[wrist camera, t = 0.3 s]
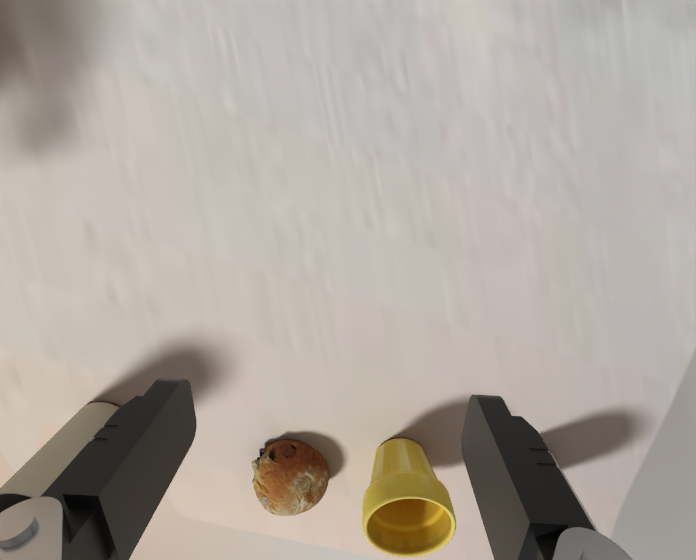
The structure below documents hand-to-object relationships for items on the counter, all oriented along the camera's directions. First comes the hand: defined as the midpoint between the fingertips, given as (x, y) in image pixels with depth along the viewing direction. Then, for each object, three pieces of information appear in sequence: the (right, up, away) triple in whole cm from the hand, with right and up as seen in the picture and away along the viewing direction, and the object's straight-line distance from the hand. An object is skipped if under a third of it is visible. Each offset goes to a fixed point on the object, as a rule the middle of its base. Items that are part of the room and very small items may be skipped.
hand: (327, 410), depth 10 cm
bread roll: (-7, -22, +40) cm, 46 cm away
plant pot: (+8, -20, +39) cm, 44 cm away
